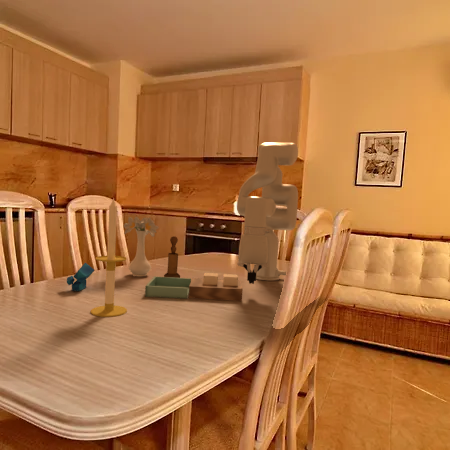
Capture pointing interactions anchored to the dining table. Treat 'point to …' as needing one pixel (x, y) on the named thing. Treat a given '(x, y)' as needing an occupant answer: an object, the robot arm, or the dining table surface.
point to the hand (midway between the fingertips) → (251, 282)
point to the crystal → (80, 277)
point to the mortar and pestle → (172, 260)
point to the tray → (168, 287)
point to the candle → (110, 270)
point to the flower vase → (140, 244)
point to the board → (214, 290)
